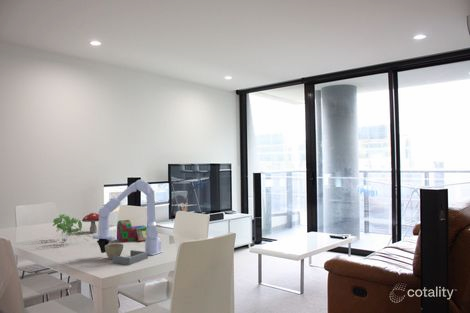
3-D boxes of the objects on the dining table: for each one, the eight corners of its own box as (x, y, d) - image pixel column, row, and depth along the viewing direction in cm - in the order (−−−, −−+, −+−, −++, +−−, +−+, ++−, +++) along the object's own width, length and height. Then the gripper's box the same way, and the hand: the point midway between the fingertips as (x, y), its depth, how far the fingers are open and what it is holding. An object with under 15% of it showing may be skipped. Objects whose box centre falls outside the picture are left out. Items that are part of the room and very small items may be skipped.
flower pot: (115, 261, 200) (115, 247, 200) (100, 259, 203) (100, 246, 204) (127, 257, 209) (127, 244, 209) (112, 255, 213) (113, 242, 213)
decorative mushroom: (77, 233, 281) (77, 213, 281) (91, 230, 296) (91, 211, 296) (94, 234, 276) (95, 214, 276) (108, 231, 291) (108, 212, 292)
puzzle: (124, 244, 244) (125, 222, 245) (116, 240, 258) (117, 219, 259) (160, 240, 259) (160, 219, 259) (150, 236, 273) (150, 217, 273)
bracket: (131, 256, 211) (131, 250, 211) (147, 258, 206) (147, 252, 206) (112, 262, 197) (113, 255, 197) (129, 264, 192) (129, 258, 193)
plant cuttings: (68, 246, 267) (42, 230, 256) (83, 225, 274) (58, 209, 263) (86, 255, 241) (57, 237, 229) (102, 232, 248) (75, 214, 237)
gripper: (88, 228, 209) (88, 252, 209) (108, 230, 203) (108, 255, 203) (97, 226, 215) (97, 250, 215) (117, 228, 210) (117, 252, 209)
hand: (103, 252), depth 209 cm, fingers closed
